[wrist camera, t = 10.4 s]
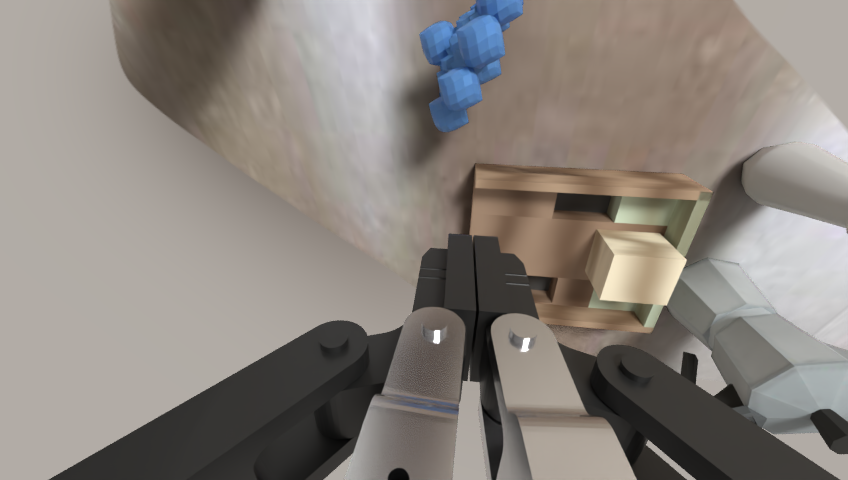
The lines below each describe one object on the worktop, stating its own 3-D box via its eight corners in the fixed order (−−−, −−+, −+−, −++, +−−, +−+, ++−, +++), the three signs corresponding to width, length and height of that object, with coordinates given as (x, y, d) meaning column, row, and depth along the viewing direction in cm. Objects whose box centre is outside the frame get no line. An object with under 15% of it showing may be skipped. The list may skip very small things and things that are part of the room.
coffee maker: (755, 234, 36) (972, 376, 21) (778, 292, 39) (985, 457, 23) (611, 295, 42) (697, 445, 26) (641, 343, 45) (734, 503, 29)
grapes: (456, -42, 28) (448, -95, 18) (531, -4, 29) (565, -33, 18) (404, 99, 34) (374, 122, 23) (467, 129, 35) (466, 164, 24)
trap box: (463, 289, 44) (463, 316, 39) (475, 163, 36) (476, 179, 32) (632, 303, 42) (651, 333, 38) (682, 173, 34) (713, 192, 30)
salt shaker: (716, 172, 34) (840, 235, 22) (777, 122, 31) (952, 165, 20) (754, 207, 35) (890, 283, 24) (816, 162, 32) (1003, 223, 21)
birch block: (584, 270, 38) (599, 299, 33) (596, 229, 35) (614, 254, 31) (643, 275, 37) (666, 305, 33) (659, 233, 35) (686, 260, 30)
